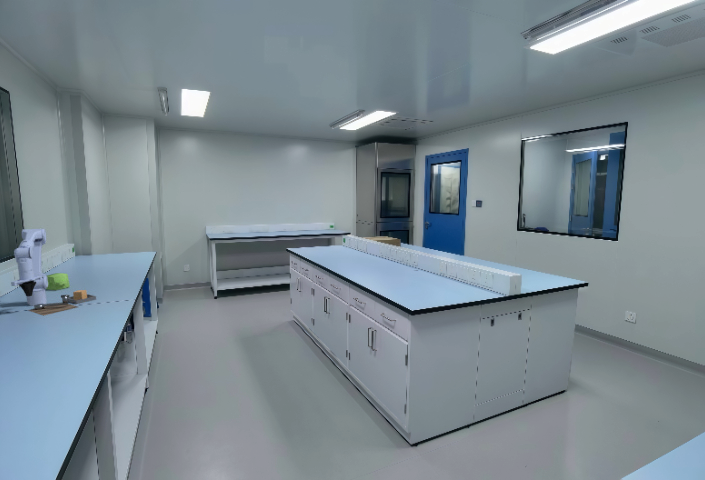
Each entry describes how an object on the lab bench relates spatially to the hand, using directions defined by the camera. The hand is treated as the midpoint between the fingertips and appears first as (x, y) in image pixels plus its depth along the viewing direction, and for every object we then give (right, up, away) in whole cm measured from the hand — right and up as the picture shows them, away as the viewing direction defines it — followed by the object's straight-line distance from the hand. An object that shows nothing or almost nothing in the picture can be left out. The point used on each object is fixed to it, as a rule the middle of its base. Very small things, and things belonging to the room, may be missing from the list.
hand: (29, 295), depth 191 cm
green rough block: (-28, -3, +51) cm, 59 cm away
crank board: (+8, -9, +6) cm, 13 cm away
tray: (+12, -7, +21) cm, 25 cm away
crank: (+7, -7, +7) cm, 12 cm away
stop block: (+12, -6, +20) cm, 24 cm away
